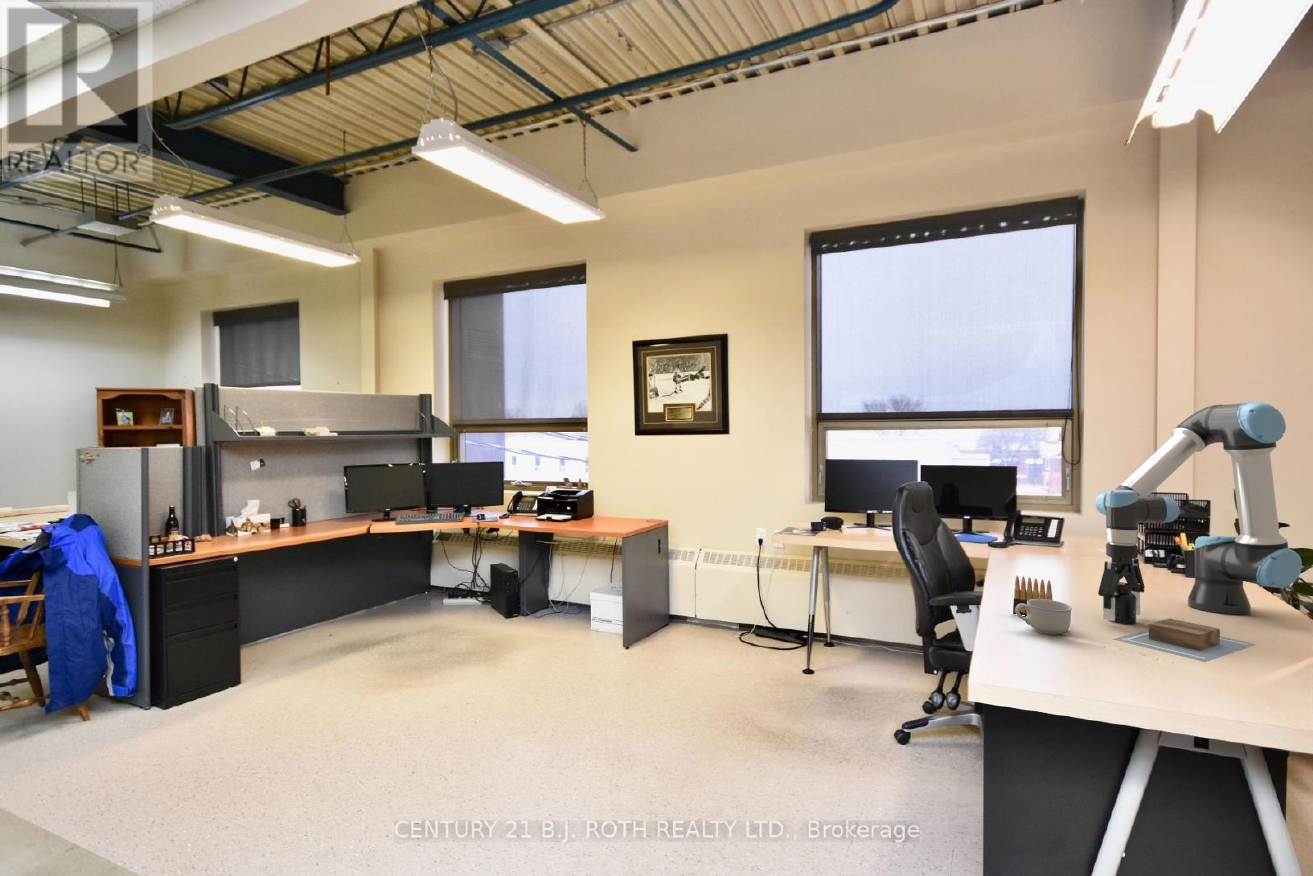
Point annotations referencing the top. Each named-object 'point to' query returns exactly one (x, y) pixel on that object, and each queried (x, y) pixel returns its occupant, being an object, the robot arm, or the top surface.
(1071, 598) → the top surface
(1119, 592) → the supplement bottle
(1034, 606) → the teacup
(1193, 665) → the top surface
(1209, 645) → the walnut plinth
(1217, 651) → the board
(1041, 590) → the ammunition clip
